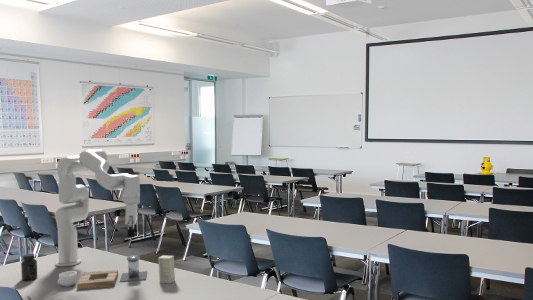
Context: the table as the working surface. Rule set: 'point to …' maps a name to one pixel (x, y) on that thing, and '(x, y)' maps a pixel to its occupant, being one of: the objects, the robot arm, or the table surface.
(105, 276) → the wooden square frame
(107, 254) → the table surface
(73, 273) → the teacup
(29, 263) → the supplement bottle
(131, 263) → the grey light bulb
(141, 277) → the mat
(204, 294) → the table surface
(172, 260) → the skincare box
